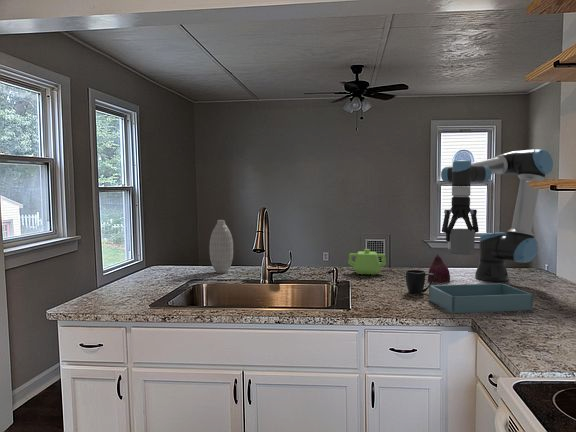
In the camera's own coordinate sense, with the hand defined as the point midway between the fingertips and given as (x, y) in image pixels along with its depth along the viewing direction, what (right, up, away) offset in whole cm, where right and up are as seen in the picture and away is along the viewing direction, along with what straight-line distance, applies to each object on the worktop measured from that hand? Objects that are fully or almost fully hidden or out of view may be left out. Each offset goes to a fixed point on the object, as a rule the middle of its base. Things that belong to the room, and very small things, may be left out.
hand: (459, 248), depth 205 cm
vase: (-110, -16, +50) cm, 122 cm away
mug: (-17, -20, +1) cm, 26 cm away
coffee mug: (+1, -2, 0) cm, 2 cm away
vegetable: (0, -18, +27) cm, 32 cm away
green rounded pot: (-32, -16, +48) cm, 60 cm away
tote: (0, -21, -19) cm, 28 cm away
